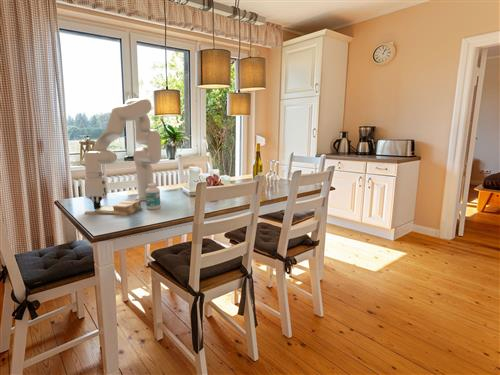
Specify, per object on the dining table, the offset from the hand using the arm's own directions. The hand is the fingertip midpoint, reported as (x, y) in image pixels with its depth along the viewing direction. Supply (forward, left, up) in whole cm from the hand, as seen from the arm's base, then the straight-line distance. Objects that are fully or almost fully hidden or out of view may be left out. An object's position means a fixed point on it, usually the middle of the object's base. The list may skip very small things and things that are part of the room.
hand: (97, 208), depth 165 cm
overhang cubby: (0, +9, -1) cm, 9 cm away
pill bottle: (-8, +28, -1) cm, 29 cm away
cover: (0, +9, -2) cm, 9 cm away
